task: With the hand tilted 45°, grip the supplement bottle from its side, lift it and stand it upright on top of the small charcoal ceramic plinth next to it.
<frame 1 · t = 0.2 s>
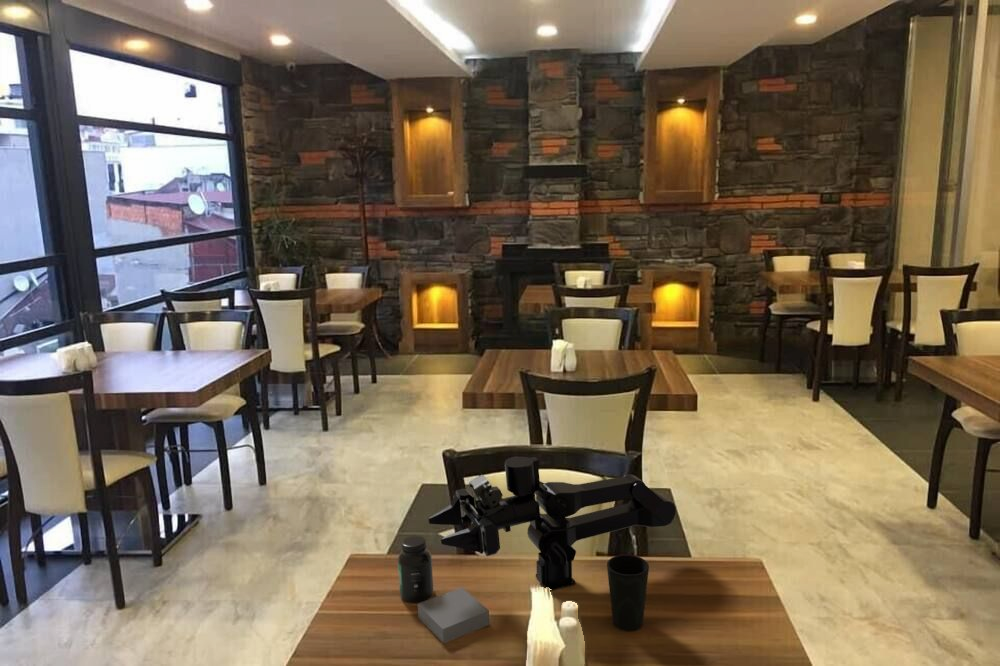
hand: (434, 531, 144), 17 cm above the table, tool horizontal, fingers open, 9 cm apart
plinth: (453, 621, 143), on the table
supplement bottle: (417, 595, 153), on the table
cup: (627, 623, 141), on the table
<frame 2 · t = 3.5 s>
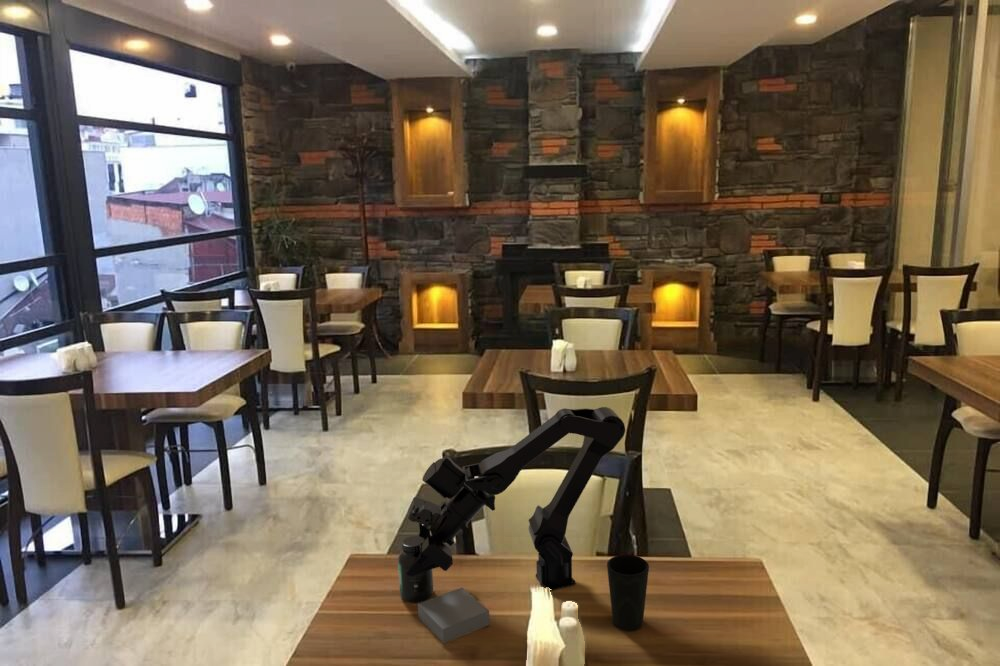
hand: (408, 565, 151), 7 cm above the table, tool tilted 45°, fingers closed on supplement bottle, 7 cm apart
supplement bottle: (417, 595, 153), on the table, touching gripper
everything else where it was.
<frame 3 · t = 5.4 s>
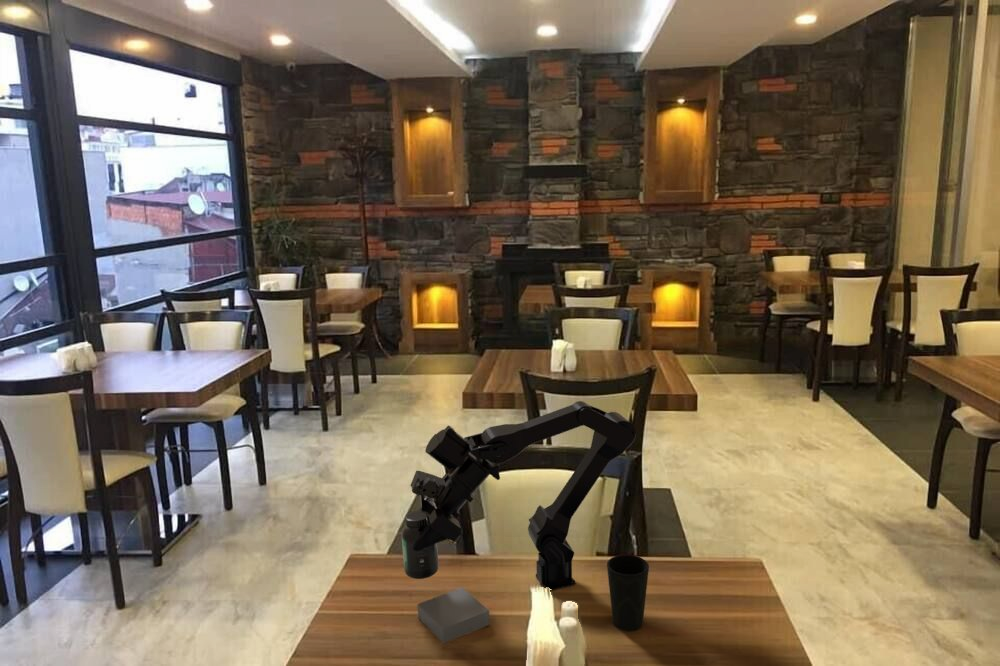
hand: (412, 541, 147), 13 cm above the table, tool tilted 45°, fingers closed on supplement bottle, 7 cm apart
supplement bottle: (421, 571, 149), point 6 cm above the table, touching gripper
everything else where it was.
when the fingers open (11 cm above the table, at t = 7.3 s): supplement bottle drops 1 cm, resting on plinth.
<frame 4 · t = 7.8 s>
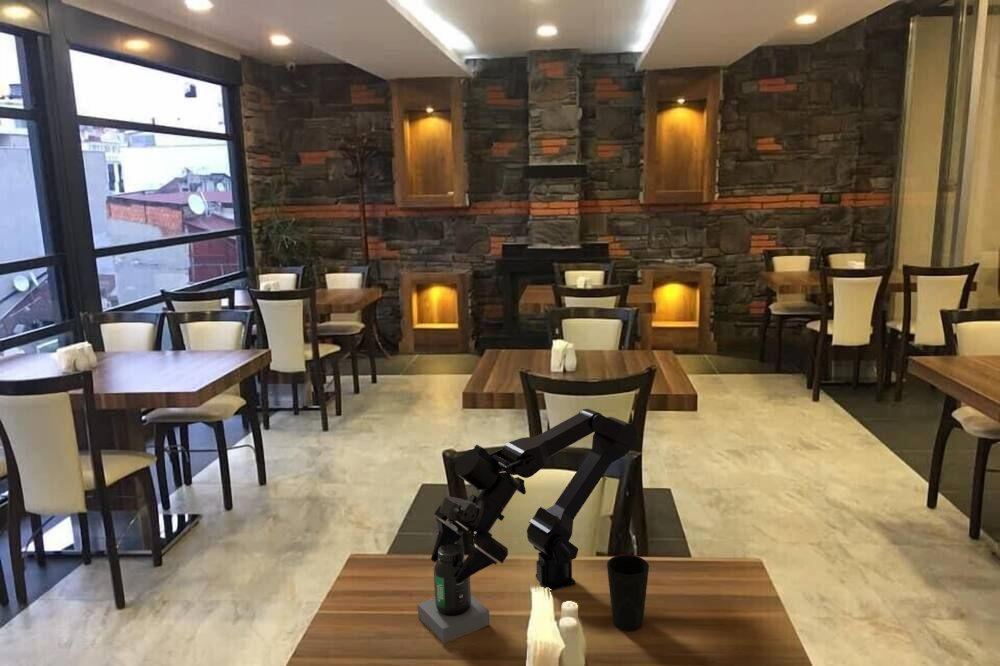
hand: (444, 571, 140), 11 cm above the table, tool tilted 45°, fingers open, 9 cm apart
supplement bottle: (453, 607, 143), point 3 cm above the table, touching plinth
everything else where it was.
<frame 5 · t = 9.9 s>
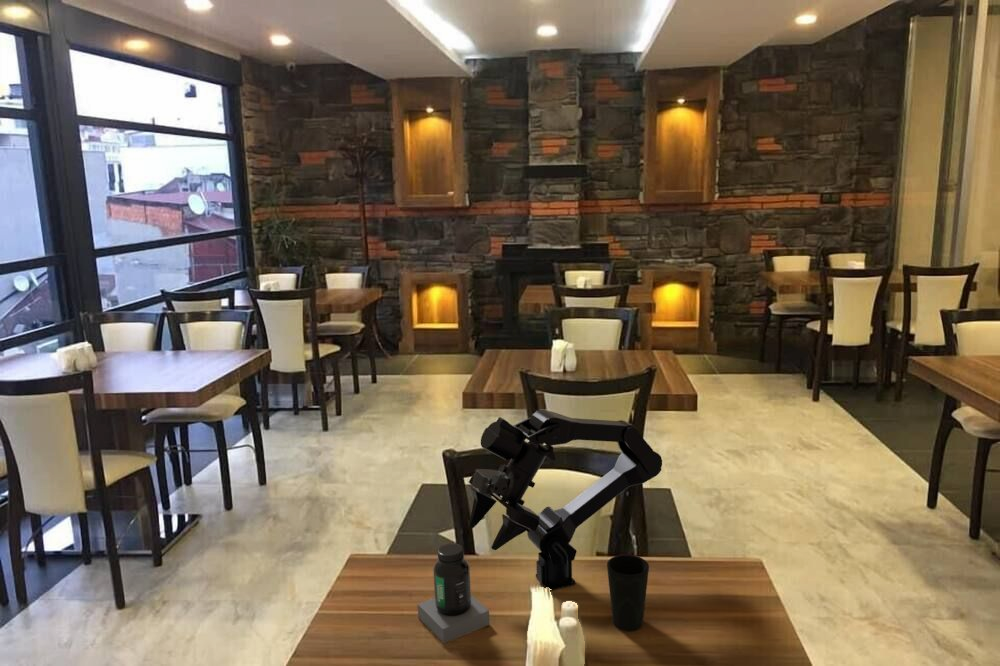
hand: (481, 538, 147), 14 cm above the table, tool tilted 35°, fingers open, 9 cm apart
nothing on the table moved.
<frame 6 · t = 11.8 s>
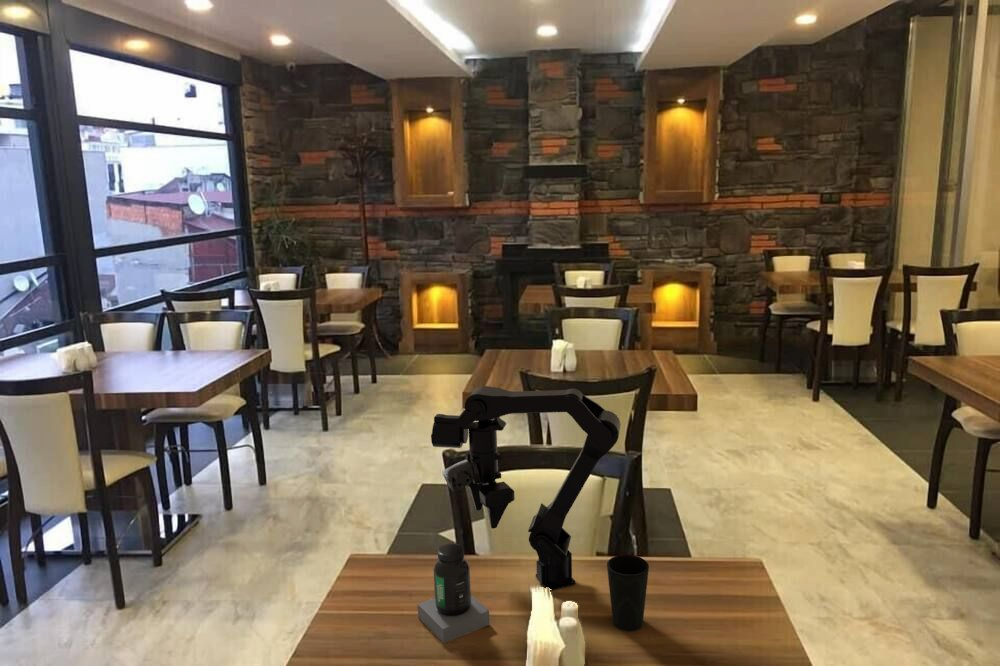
hand: (486, 518, 156), 13 cm above the table, tool pointing down, fingers open, 9 cm apart
nothing on the table moved.
at the end: supplement bottle inside the target area on the plinth (0.2 cm from its centre), point 2.8 cm above the plinth's base; supplement bottle tilted 0°; the gripper is holding nothing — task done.
